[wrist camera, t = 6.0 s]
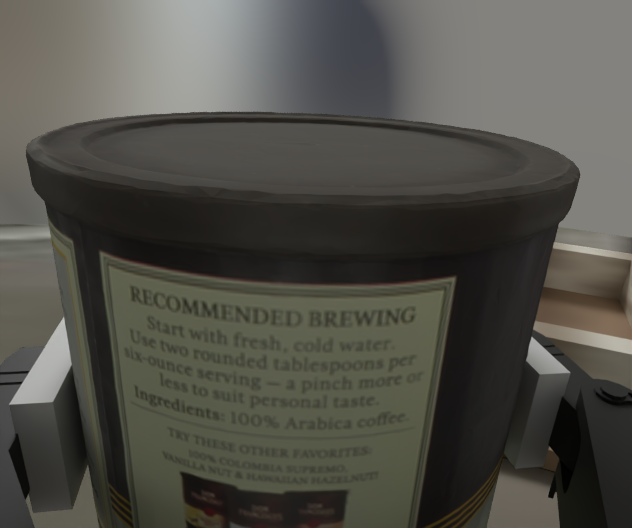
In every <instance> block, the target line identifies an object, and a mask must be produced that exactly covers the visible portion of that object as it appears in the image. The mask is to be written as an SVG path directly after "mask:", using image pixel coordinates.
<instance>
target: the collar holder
mask: <svg viewBox="0 0 632 528" xmlns="http://www.w3.org/2000/svg"><path fill="white" fill-rule="evenodd" d="M533 330H535V331H537V332H539V333H541V334H543V335H544V336H545V337H547V338H548V339H549V340H550V341H551V342H552V343H553V344H554V345H555V347H558V348H559V349H560V350H561V351H562V352H563V353H564V355H567V356H568V357H569V358H570V359H571V360H572V361H574V362H575V363H576V364H577V365H578V366H579V367H580V368H581V369H582V370H584V371H585V372H586V373H587V374H588V375H589V376H590V377H591V378H593V379H602V380H609V381H612V382H615V383H618V384H621V385H623V386H625V387H627V388H629V389H631V390H632V254H629V253H622V252H615V251H609V250H602V249H595V248H589V247H582V246H575V245H569V244H562V243H556V242H554V245H553V249H552V253H551V256H550V260H549V265H548V269H547V274H546V278H545V282H544V286H543V290H542V294H541V298H540V302H539V307H538V311H537V315H536V319H535V323H534V327H533ZM503 457H505V458H507V457H506V455H505V454H503ZM558 461H559V458H558V456H557V455H556V454H555V453H554V451H553V450H552V449H551V448H550V447H549V449H548V452H547V456H546V459H545V463H544V466H543V467H540V468H543V469H547V470H551V471H554V472H555V471H556V468H557V464H558Z"/></svg>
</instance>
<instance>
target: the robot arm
mask: <svg viewBox="0 0 632 528" xmlns="http://www.w3.org/2000/svg"><path fill="white" fill-rule="evenodd" d="M549 447H550V448H551V449H552V450H553V451H554V453H555V454H556V455H557V456H558V458H559V461H558V464H557V468H556V471H555V474H554V478H553V481H552V484H551V488H550V491H549V495H548V497H549V498H553V497H554V494H555V492H557V498H558V509H559V521H560V528H632V390H631V389H629V388H627V387H625V386H623V385H621V384H618V383H615V382H612V381H609V380H602V379H593V378H591V377H590V376H589V375H588V374H587V373H586V372H585V371H584V370H582V369H581V368H580V367H579V366H578V365H577V364H576V363H575V362H574V361H572V360H571V359H570V358H569V357H568V356H567V355H564V353H563V352H562V351H561V350H560V349H559V348H558V347H555V345H554V344H553V343H552V342H551V341H550V340H549V339H548V338H547V337H545V336H544V335H543V334H541V333H539V332H537V331H535V330H533V331H532V337H531V341H530V345H529V350H528V356H527V359H526V362H525V366H524V370H523V374H522V379H521V383H520V387H519V392H518V396H517V400H516V404H515V408H514V412H513V416H512V421H511V426H510V430H509V434H508V438H507V441H506V445H505V450H504V454H505V455H506V457H507V458H508V460H509V461H510V463H511V464H512V465H513V467H514V468H515V469H521V468H532V467H543V466H544V463H545V459H546V456H547V452H548V449H549ZM87 465H88V459H87V453H86V447H85V440H84V434H83V428H82V422H81V415H80V409H79V403H78V398H77V392H76V386H75V380H74V374H73V369H72V363H71V357H70V351H69V344H68V338H67V332H66V326H65V320H64V318H63V319H62V321H61V322H60V324H59V325H58V327H57V329H56V330H55V332H54V333H53V335H52V337H51V338H50V340H49V341H48V343H47V345H46V346H45V347H22V348H21V349H19V350H18V351H17V352H15V353H14V354H12V355H11V356H9V357H8V358H6V359H5V360H4V362H3V363H2V364H1V366H0V528H35V527H34V525H33V522H32V519H31V516H30V513H29V510H28V507H27V504H26V501H25V500H26V498H27V495H28V493H29V497H30V501H31V506H32V510H33V513H36V512H47V511H58V510H69V509H73V506H74V503H75V500H76V497H77V494H78V491H79V488H80V485H81V482H82V480H83V477H84V474H85V471H86V468H87Z"/></svg>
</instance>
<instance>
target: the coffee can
mask: <svg viewBox="0 0 632 528" xmlns="http://www.w3.org/2000/svg"><path fill="white" fill-rule="evenodd" d="M26 158H27V162H28V166H29V170H30V176H31V181H32V185H33V187H34V189H35V191H36V192H37V194H38V195H39V196H40V197H41V198H42V199H43V200H44V201H45V205H46V209H47V215H48V221H49V227H50V234H51V240H52V246H53V252H54V258H55V264H56V270H57V276H58V283H59V289H60V295H61V301H62V307H63V313H64V320H65V326H66V332H67V338H68V344H69V351H70V357H71V363H72V369H73V374H74V380H75V386H76V392H77V398H78V403H79V409H80V415H81V422H82V428H83V434H84V440H85V447H86V453H87V459H88V466H89V471H90V477H91V483H92V488H93V496H94V502H95V507H96V512H97V517H98V523H99V528H486V527H487V523H488V519H489V514H490V510H491V505H492V501H493V497H494V492H495V488H496V483H497V479H498V475H499V470H500V466H501V462H502V458H503V454H504V450H505V445H506V441H507V438H508V434H509V430H510V426H511V421H512V416H513V412H514V408H515V404H516V400H517V396H518V392H519V387H520V383H521V379H522V374H523V370H524V366H525V362H526V359H527V356H528V350H529V345H530V341H531V337H532V331H533V327H534V323H535V319H536V315H537V311H538V307H539V302H540V298H541V294H542V290H543V286H544V282H545V278H546V274H547V269H548V265H549V260H550V256H551V253H552V249H553V245H554V241H555V237H556V233H557V229H558V224H559V222H561V221H562V220H563V219H564V218H565V216H566V215H567V213H568V212H569V210H570V208H571V205H572V202H573V199H574V196H575V193H576V189H577V186H578V182H579V178H580V172H579V169H578V167H577V166H576V165H575V164H574V163H573V162H572V161H571V160H569V159H568V158H566V157H565V156H564V155H561V154H560V153H559V152H557V151H554V150H552V149H550V148H547V147H544V146H541V145H538V144H535V143H532V142H529V141H525V140H521V139H518V138H515V137H508V136H505V135H501V134H496V133H491V132H486V131H480V130H475V129H467V128H460V127H454V126H447V125H438V124H433V123H425V122H413V121H405V120H395V119H384V118H371V117H359V116H344V115H329V114H307V113H274V112H191V113H172V114H151V115H139V116H126V117H115V118H107V119H100V120H93V121H88V122H83V123H76V124H73V125H69V126H65V127H62V128H59V129H56V130H53V131H50V132H47V133H45V134H43V135H41V136H38V137H37V138H35V139H33V140H32V141H31V142H30V143H28V145H27V149H26Z"/></svg>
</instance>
